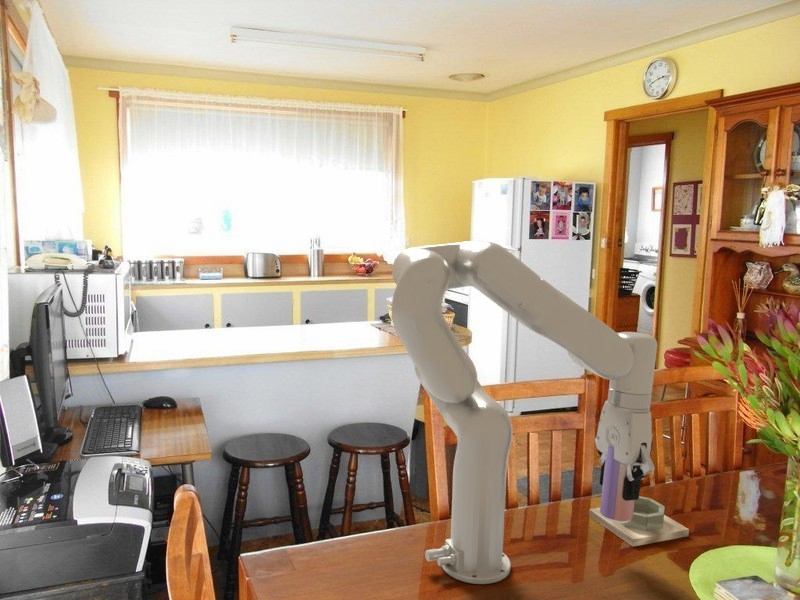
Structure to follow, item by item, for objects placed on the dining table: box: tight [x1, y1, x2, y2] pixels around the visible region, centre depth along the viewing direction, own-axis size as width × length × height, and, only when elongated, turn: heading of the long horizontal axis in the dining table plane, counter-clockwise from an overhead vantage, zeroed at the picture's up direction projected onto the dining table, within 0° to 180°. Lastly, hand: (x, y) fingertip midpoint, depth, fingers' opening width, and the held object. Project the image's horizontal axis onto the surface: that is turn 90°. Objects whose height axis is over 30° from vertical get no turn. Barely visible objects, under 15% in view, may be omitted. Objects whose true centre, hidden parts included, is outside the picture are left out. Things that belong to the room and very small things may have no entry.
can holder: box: [588, 495, 690, 548], centre depth 137 cm, size 14×14×4 cm
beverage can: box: [599, 441, 637, 523], centre depth 123 cm, size 6×6×15 cm
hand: (618, 491), depth 123 cm, fingers closed on beverage can, 6 cm apart
